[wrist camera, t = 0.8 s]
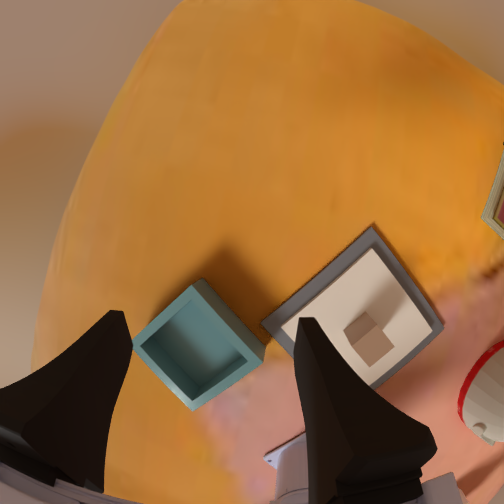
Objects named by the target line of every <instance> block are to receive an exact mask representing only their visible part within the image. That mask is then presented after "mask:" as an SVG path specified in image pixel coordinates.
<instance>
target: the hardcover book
mask: <svg viewBox="0 0 504 504" xmlns="http://www.w3.org/2000/svg"><path fill="white" fill-rule="evenodd" d="M503 145H504V142H503ZM481 219H482V220H483V221H484V222H486V223H487V224H488V225H489V226H490V227H491V228H492V229H493V230H494V231H495V232H496V233H497V234H498V235H499V236H500V237H501V238H502V239H503V240H504V151H503V154H502V158H501V161H500V165H499V168H498V171H497V174H496V177H495V180H494V183H493V186H492V189H491V192H490V195H489V197H488V200H487V203H486V205H485V208H484V211H483V213H482V216H481Z"/></svg>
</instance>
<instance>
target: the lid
mask: <svg viewBox="0 0 504 504" xmlns="http://www.w3.org/2000/svg"><path fill="white" fill-rule="evenodd" d="M299 317H314V318H315V319H316V320H317V321H318V323H319V325H320V326H321V328H322V329H323V331H324V332H325V334H326V335H327V337H328V338H329V340H330V341H331V342H332V344H333V345H334V346H335V348H336V349H337V350H338V352H339V353H340V354H341V356H342V357H343V358H344V359H345V361H346V362H347V363H348V364H349V365H350V367H351V368H352V369H353V370H354V371H355V372H356V373H357V374H358V375H359V376H360V378H361V379H362V380H363V381H364V382H365V383H367V384H368V385H371V384H372V383H373V382H375V381H376V380H377V379H378V378H380V377H381V376H382V375H383V374H385V373H386V372H387V371H388V370H389V369H391V368H392V367H393V366H394V365H395V364H397V363H398V362H399V361H400V360H401V359H402V358H404V357H405V356H406V355H407V354H408V353H409V352H410V351H412V350H413V349H414V348H415V347H416V346H417V345H418V344H419V343H420V342H421V341H422V340H424V339H425V338H426V337H427V336H428V335H429V334H430V333H431V332H432V329H431V328H430V326H429V325H428V323H427V322H426V320H425V319H424V317H423V316H422V315H421V313H420V312H419V310H418V309H417V307H416V306H415V305H414V303H413V302H412V300H411V299H410V298H409V296H408V295H407V293H406V292H405V291H404V289H403V288H402V287H401V285H400V284H399V283H398V281H397V280H396V279H395V277H394V276H393V275H392V273H391V272H390V271H389V269H388V268H387V267H386V265H385V264H384V263H383V261H382V260H381V259H380V258H379V256H378V255H377V254H376V253H375V251H374V250H373V249H372V248H369V249H368V250H367V251H366V252H365V253H364V254H363V255H362V256H361V257H360V258H358V259H357V260H356V261H355V262H354V263H353V264H352V265H351V266H350V267H349V268H347V269H346V270H345V271H344V272H343V273H342V274H341V275H340V276H338V277H337V278H336V279H335V280H334V281H333V282H332V283H330V284H329V285H328V286H327V287H326V288H325V289H324V290H322V291H321V292H320V293H319V294H318V295H317V296H315V297H314V298H313V299H312V300H311V301H309V302H308V303H307V304H306V305H305V306H303V307H302V308H301V309H300V310H299V311H297V312H296V313H295V314H294V315H293V316H291V317H290V318H289V319H288V320H287V321H285V322H284V323H283V324H282V325H281V328H282V329H283V330H284V331H285V332H286V333H287V335H288V336H289V337H290V338H291V339H292V340H293V341H294V342H295V339H296V333H297V327H298V320H299Z"/></svg>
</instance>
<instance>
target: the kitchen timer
mask: <svg viewBox="0 0 504 504" xmlns="http://www.w3.org/2000/svg"><path fill="white" fill-rule="evenodd" d="M458 414H459V416H460V418H461V420H462V421H463V423H464V424H465V425H466V426H467V427H468V428H470V429H471V430H472V431H473V433H474V434H475V435H477V436H478V437H480V438H481V439H483V440H484V441H485V442H487V443H488V444H490V445H491V446H493V445H494V443H495V441H498V442H504V340H503V341H501V342H499V343H497V344H495V345H494V346H493V347H491V348H490V349H489V350H488V351H486V352H485V353H484V354H483V355H482V356H481V358H480V359H479V360H478V361H477V362H476V363H475V364H474V366H473V368H472V369H471V371H470V372H469V374H468V375H467V377H466V379H465V381H464V383H463V386H462V388H461V390H460V394H459V398H458Z"/></svg>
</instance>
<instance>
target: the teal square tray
mask: <svg viewBox="0 0 504 504" xmlns="http://www.w3.org/2000/svg"><path fill="white" fill-rule="evenodd" d="M132 343H133V350H134V351H135V352H136V353H137V354H138V355H139V357H140V358H141V359H142V360H143V361H144V362H145V363H146V364H147V365H148V367H149V368H150V369H151V370H152V371H153V372H154V373H155V374H156V375H157V376H158V377H159V378H160V379H161V380H162V382H163V383H164V384H165V385H166V386H167V387H168V388H169V389H170V390H171V391H172V392H173V393H174V394H175V395H176V396H177V397H178V398H179V399H180V400H181V401H182V402H183V403H184V404H185V405H186V406H187V407H189V408H190V409H191V410H192V411H194V410H196V409H197V408H199V407H200V406H202V405H203V404H205V403H206V402H208V401H209V400H211V399H212V398H214V397H215V396H217V395H218V394H220V393H221V392H223V391H224V390H226V389H227V388H228V387H230V386H231V385H233V384H234V383H236V382H237V381H238V380H240V379H241V378H243V377H244V376H245V375H247V374H248V373H250V372H251V371H252V370H254V369H255V368H256V367H258V366H259V365H261V364H262V363H263V360H264V355H265V349H266V347H265V346H264V345H263V344H262V343H261V341H260V340H259V339H258V338H257V337H256V336H255V335H254V334H253V333H252V332H251V331H250V330H249V329H248V328H247V326H246V325H245V324H244V323H243V322H242V321H241V320H240V319H239V318H238V317H237V316H236V314H235V313H234V312H233V311H232V310H231V309H230V308H229V307H228V306H227V305H226V303H225V302H224V301H223V300H222V299H221V298H220V297H219V296H218V294H217V293H216V292H215V291H214V290H213V289H212V288H211V287H210V285H209V284H208V283H207V282H206V281H205V280H204V279H203V278H201V279H200V280H198V281H197V282H195V283H193V284H192V285H191V286H189V287H188V288H187V289H186V290H185V291H184V292H183V293H182V294H181V295H180V296H179V297H178V298H176V299H175V300H174V301H173V302H172V303H171V304H170V305H169V306H168V307H167V308H166V309H165V310H164V311H162V312H161V313H160V314H159V315H158V316H157V317H156V318H155V319H154V320H153V321H152V322H151V323H150V324H148V325H147V326H146V327H145V328H144V329H143V330H142V331H141V332H140V333H139V334H138V335H137V336H136V337H135V338H134V339H133V340H132Z"/></svg>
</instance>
